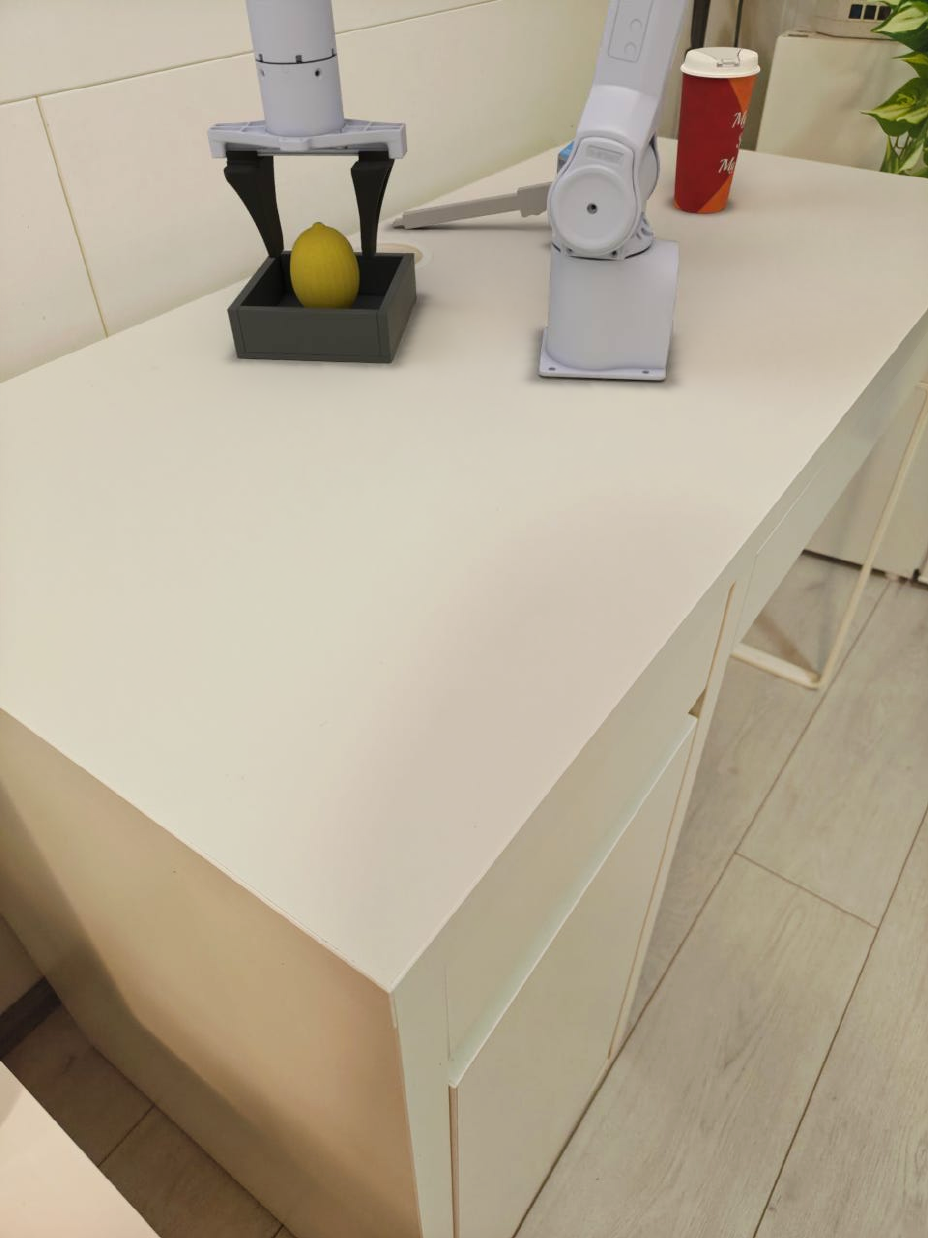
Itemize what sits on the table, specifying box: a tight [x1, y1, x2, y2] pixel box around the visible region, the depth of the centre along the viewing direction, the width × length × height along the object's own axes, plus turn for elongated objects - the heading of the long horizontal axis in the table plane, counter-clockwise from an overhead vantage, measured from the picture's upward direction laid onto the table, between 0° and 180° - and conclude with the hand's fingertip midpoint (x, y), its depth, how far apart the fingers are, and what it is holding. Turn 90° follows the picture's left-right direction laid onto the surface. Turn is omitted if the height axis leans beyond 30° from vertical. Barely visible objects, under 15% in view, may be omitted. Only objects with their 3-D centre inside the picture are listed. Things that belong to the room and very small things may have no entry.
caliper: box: [391, 180, 553, 230], centre depth 89 cm, size 20×1×6 cm, turn 81°
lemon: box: [290, 221, 359, 309], centre depth 71 cm, size 6×6×8 cm
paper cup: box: [673, 46, 761, 214], centre depth 90 cm, size 8×8×14 cm
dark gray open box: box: [226, 250, 418, 364], centre depth 73 cm, size 13×13×4 cm
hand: (323, 254), depth 70 cm, fingers open, 7 cm apart
